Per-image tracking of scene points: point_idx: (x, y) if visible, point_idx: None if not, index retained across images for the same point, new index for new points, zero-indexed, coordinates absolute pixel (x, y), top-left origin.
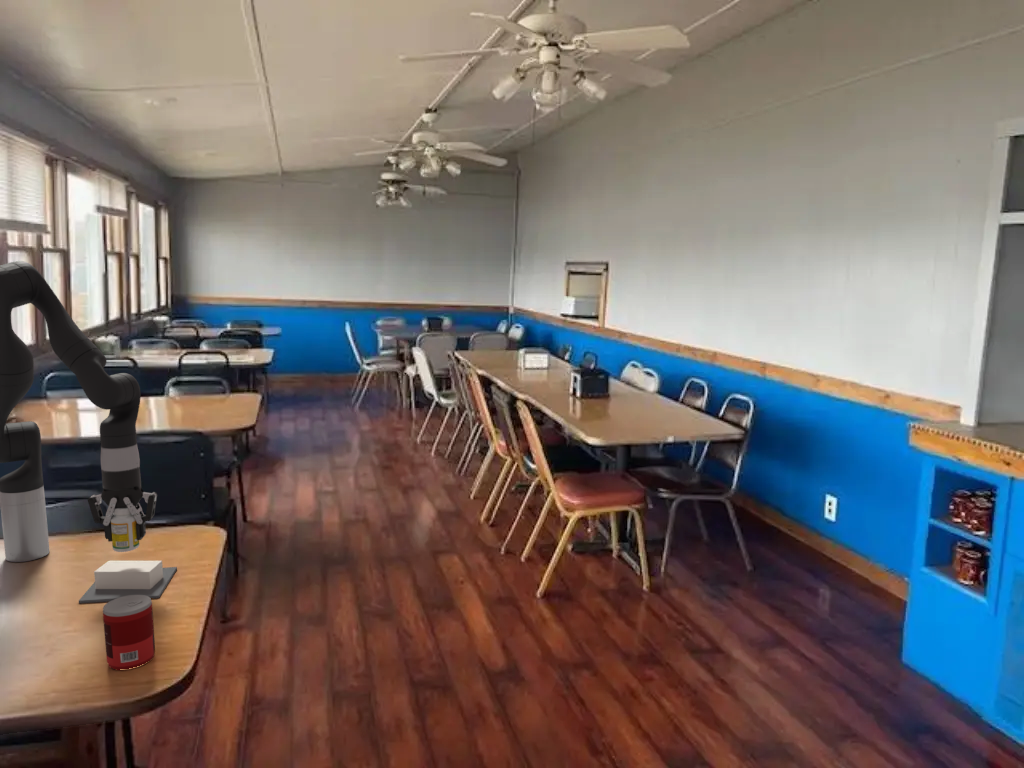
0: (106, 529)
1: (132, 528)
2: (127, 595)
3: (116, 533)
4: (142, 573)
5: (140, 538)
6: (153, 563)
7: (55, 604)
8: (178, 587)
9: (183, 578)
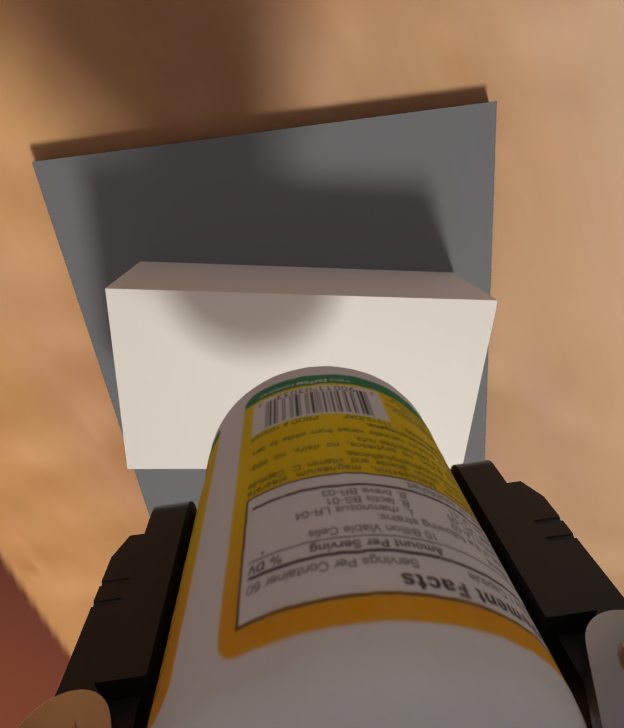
0: (574, 574)
1: (187, 593)
2: (232, 169)
3: (396, 483)
4: (159, 285)
5: (154, 516)
6: (159, 428)
7: (615, 97)
8: (17, 313)
9: (61, 422)
